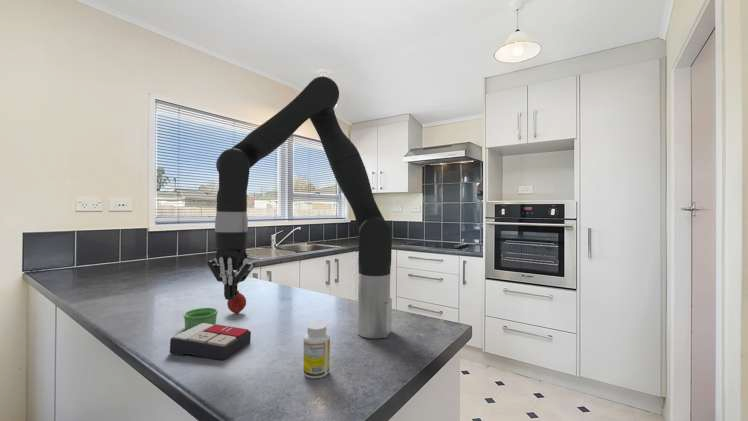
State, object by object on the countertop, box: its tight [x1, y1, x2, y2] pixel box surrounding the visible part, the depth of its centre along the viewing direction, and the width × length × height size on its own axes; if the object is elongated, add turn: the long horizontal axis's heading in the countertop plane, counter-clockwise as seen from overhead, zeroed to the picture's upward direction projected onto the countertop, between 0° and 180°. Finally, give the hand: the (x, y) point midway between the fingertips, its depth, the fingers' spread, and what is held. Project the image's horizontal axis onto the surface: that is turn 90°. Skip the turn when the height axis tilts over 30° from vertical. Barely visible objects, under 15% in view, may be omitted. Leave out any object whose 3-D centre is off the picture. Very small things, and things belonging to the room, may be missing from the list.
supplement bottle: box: [303, 322, 331, 379], centre depth 70 cm, size 6×6×10 cm
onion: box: [226, 289, 247, 315], centre depth 108 cm, size 6×6×8 cm
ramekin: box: [183, 307, 219, 331], centre depth 96 cm, size 9×9×4 cm
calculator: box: [169, 323, 252, 361], centre depth 82 cm, size 11×4×15 cm
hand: (230, 298), depth 81 cm, fingers closed
